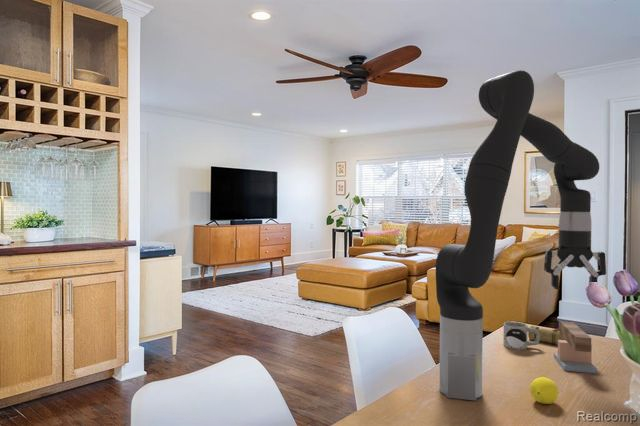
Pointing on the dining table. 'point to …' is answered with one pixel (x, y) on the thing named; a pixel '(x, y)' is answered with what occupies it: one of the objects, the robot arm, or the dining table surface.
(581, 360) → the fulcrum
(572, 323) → the walnut bar
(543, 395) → the lemon
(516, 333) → the mug
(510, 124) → the robot arm
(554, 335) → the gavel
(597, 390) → the dining table surface
